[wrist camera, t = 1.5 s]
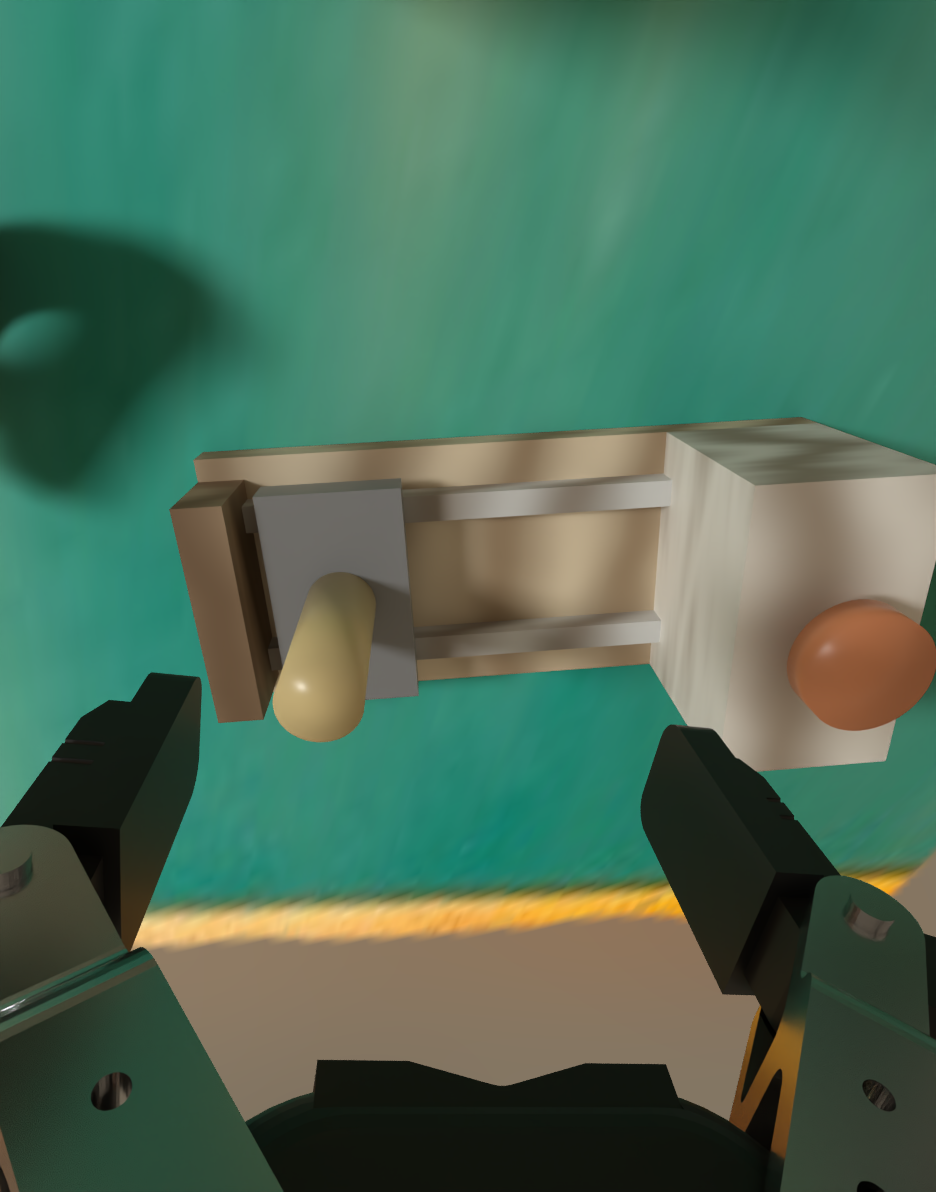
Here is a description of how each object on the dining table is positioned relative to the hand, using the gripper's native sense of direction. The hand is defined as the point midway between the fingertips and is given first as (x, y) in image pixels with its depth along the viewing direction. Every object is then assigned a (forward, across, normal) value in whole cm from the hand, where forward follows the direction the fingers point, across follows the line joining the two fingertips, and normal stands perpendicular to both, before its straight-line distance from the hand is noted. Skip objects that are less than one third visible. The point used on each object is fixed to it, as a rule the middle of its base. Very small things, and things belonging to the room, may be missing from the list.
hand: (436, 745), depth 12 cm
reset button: (+10, -16, +2) cm, 19 cm away
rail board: (+23, -6, +4) cm, 24 cm away
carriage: (+20, +2, +6) cm, 21 cm away
